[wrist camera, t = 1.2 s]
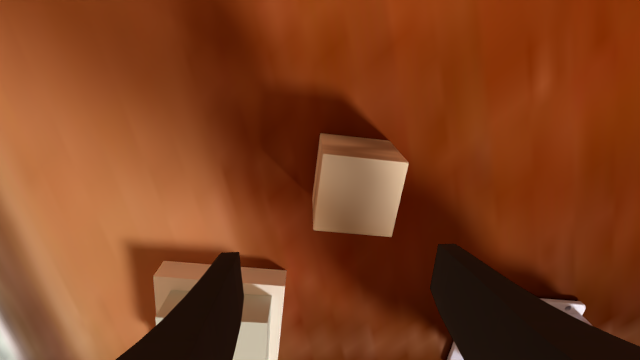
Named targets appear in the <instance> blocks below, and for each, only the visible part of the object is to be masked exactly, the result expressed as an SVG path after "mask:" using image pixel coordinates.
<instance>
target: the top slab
mask: <svg viewBox="0 0 640 360" xmlns="http://www.w3.org/2000/svg"><path fill="white" fill-rule="evenodd" d="M188 292H189V291H179V290H171V291H170V293H169V294H168V296H167V298H166V299H165V301H164V303H163V305H162V306H161V308H160V310H159V312H158V313H157V315H156V317H155V320H156V325H157V324H158V323H159V322H160V321H161V320H162V319H163V318H164V317H166V316H167V314H168V313H169V312H170V311H171V310H172V309H173V308H174V307H175V306H176V305H177V304H178V303H179V302H180V301H181V300H182V299H183V298H184V297H185V296H186V294H187V293H188ZM271 302H272V296H266V295H249V294H244V303H243V312H242V320H241V326H240V331H239V335H238V339H237V344H236V348H235V352H234V356H233V360H268V359H269V340H270V321H271Z"/></svg>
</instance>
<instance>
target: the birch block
mask: <svg viewBox="0 0 640 360" xmlns="http://www.w3.org/2000/svg"><path fill="white" fill-rule="evenodd" d="M408 164H409V163H408V161H407V160H406V159H405V158H404V157H403V156H402V155H401V153H400V152H399V151H398V150H397V149H396V148H395V147H394V145H393V144H392V143H391V142H390V141H387V140H378V139H369V138H360V137H351V136H342V135H333V134H324V133H320V139H319V147H318V155H317V164H316V172H315V180H314V188H313V196H312V202H313V230H316V231H328V232H339V233H350V234H362V235H373V236H384V237H392V233H393V229H394V225H395V220H396V216H397V212H398V207H399V203H400V199H401V194H402V190H403V186H404V182H405V177H406V173H407V169H408Z"/></svg>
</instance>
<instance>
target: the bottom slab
mask: <svg viewBox="0 0 640 360" xmlns="http://www.w3.org/2000/svg"><path fill="white" fill-rule="evenodd" d="M210 266H211V264H199V263H186V262H174V261H163V263H162V264H161V265H160V267H159V268H158V270H157V271H156V273H155V274H154V276H153V281H154V293H155V306H156V315H157V313H158V312H159V310H160V308H161V306H162V305H163V303H164V301H165V299H166V298H167V296H168V294H169V293H170V291H171V290H179V291H190V290H191V289H192V288H193V286H194V285H195V284H196V283H197V282H198V281H199V279H200V278H201V277H202V276H203V275H204V273H205V272H206V271H207V270H208V268H209V267H210ZM286 271H287V270H274V269H262V268H249V267H241V273H242V282H243V291H244V294H249V295H266V296H272V302H271V321H270V340H269V359H268V360H278V351H279V341H280V331H281V321H282V311H283V301H284V291H285V281H286Z"/></svg>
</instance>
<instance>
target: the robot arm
mask: <svg viewBox="0 0 640 360" xmlns="http://www.w3.org/2000/svg"><path fill="white" fill-rule="evenodd" d="M430 289H431V292H432V295H433V298H434V300H435V303H436V306H437V308H438V311H439V313H440V315H441V317H442V319H443V321H444V323H445V325H446V327H447V329H448V331H449V333H450V335H451V337H452V339H453V340H454V342H453V345H452V348H451V350H450V353H449V356H448V359H447V360H640V346H637V345H635V344H632V343H630V342H627V341H625V340H623V339H620V338H618V337H616V336H613V335H611V334H609V333H607V332H605V331H602V330H600V329H598V328H596V327H594V326H592V325H591V324H590V323H589V322H588V321H587V320H586V319H585V318H584V317H583V316H582V314H583V313H584V311H585V308H586V307H585V305H584V304H583V303H582V302H580V301H568V300H555V299H543V298H538V297H536V296H535V295H533V294H531V293H530V292H528V291H526V290H525V289H523V288H521V287H520V286H518V285H516V284H515V283H513V282H512V281H510V280H509V279H507V278H506V277H504V276H502V275H501V274H499V273H498V272H496V271H495V270H493V269H492V268H491V267H489V266H488V265H486V264H485V263H483V262H482V261H480V260H479V259H477V258H476V257H474V256H473V255H471V254H470V253H468V252H467V251H465V250H464V249H462V248H461V247H459V246H457V245H456V244H438V249H437V254H436V259H435V264H434V270H433V275H432V280H431V286H430ZM243 303H244V291H243V282H242V273H241V265H240V256H239V252H230V253H221V254H220V255H219V256H218V257H217V258H216V260H215V261H214V262H213V263H212V265H211V266H210V267H209V268H208V270H207V271H206V272H205V273H204V275H203V276H202V277H201V278H200V279H199V281H198V282H197V283H196V284H195V285H194V286H193V288H192V289H191V290H190V291H189V292H188V293H187V294H186V296H185V297H184V298H183V299H182V300H181V301H180V302H179V303H178V304H177V305H176V306H175V307H174V308H173V309H172V310H171V311H170V312H169V313H168V314H167V316H166V317H164V318H163V319H162V320H161V321H160V322H159V323H158V324H157V325H156V326H155V327H154V328H153V329H152V330H151V331H150V332H149V333H147V334H146V335H145V336H144V337H143V338H142V339H141V340H140V341H138V342H137V343H136V344H135V345H134V346H132V347H131V348H130V349H128V350H127V351H126V352H125V353H123V354H122V355H121V356H120V357H118V358H117V359H116V360H233V356H234V352H235V348H236V344H237V339H238V335H239V331H240V326H241V320H242V312H243Z"/></svg>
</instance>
